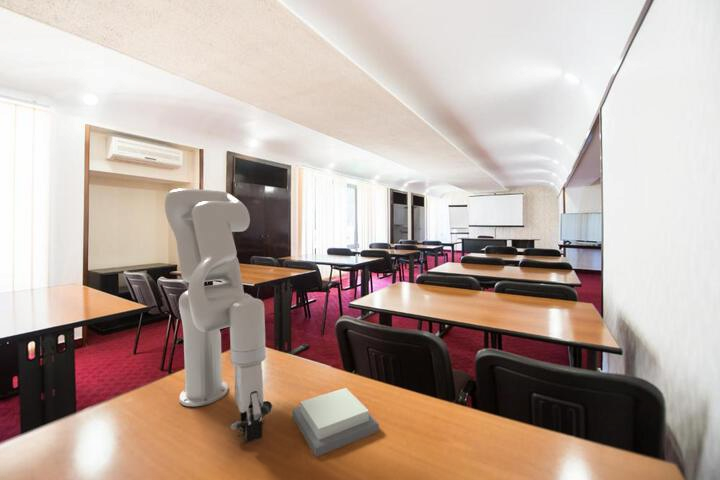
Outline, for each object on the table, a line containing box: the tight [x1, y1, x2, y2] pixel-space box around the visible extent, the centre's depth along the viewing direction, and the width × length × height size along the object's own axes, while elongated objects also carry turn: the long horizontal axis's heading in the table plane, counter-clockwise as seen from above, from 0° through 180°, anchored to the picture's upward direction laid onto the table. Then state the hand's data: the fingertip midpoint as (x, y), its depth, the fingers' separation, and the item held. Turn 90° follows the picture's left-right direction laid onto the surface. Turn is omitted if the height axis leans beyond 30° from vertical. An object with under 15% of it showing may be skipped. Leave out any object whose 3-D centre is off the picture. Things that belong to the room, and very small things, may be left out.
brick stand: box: [291, 387, 380, 458], centre depth 75 cm, size 16×16×5 cm
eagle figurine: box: [230, 400, 273, 446], centre depth 72 cm, size 8×7×9 cm
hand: (251, 428), depth 70 cm, fingers open, 7 cm apart
